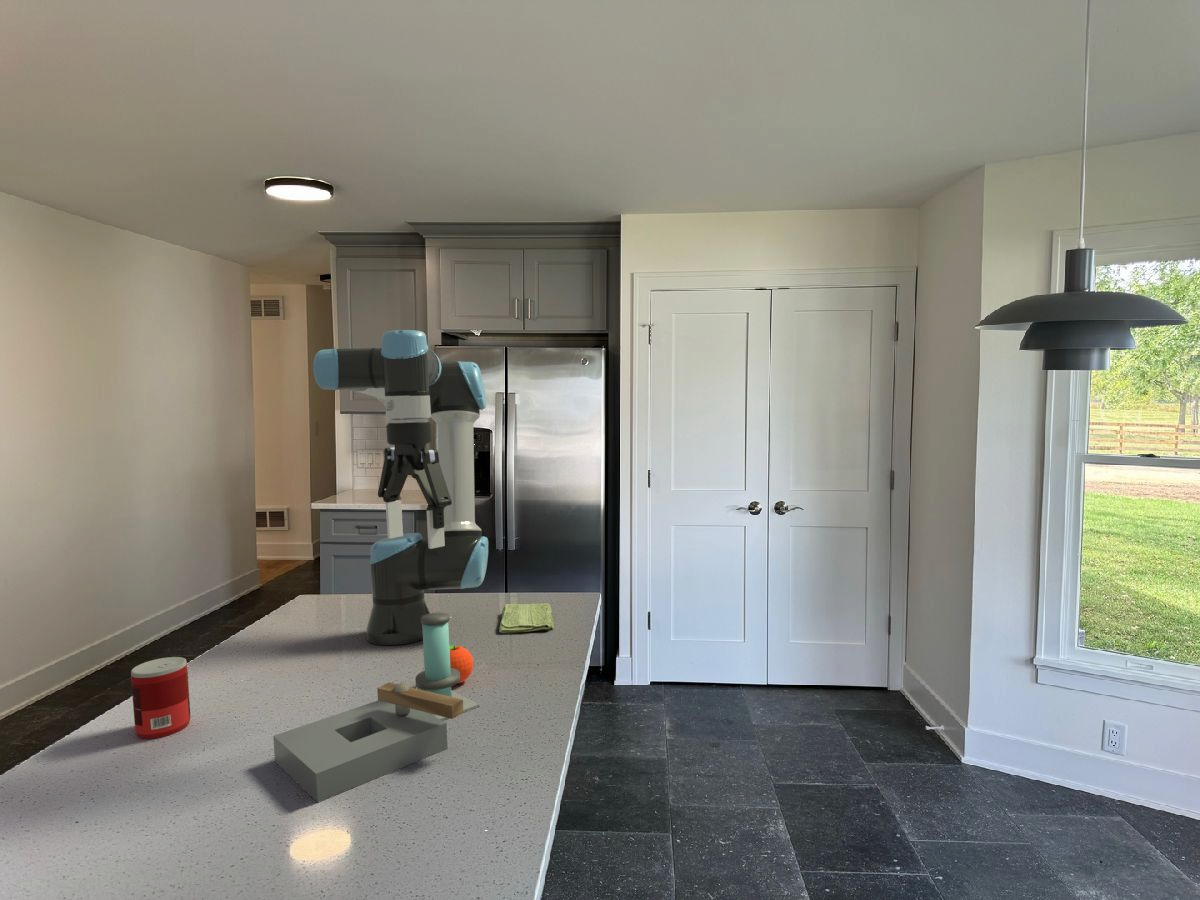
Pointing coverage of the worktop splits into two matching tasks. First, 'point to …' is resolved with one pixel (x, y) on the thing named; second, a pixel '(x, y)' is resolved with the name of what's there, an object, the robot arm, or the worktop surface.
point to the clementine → (461, 661)
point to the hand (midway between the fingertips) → (415, 542)
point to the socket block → (356, 747)
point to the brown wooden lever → (419, 700)
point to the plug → (437, 656)
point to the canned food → (160, 697)
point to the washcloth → (526, 618)
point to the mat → (467, 704)
